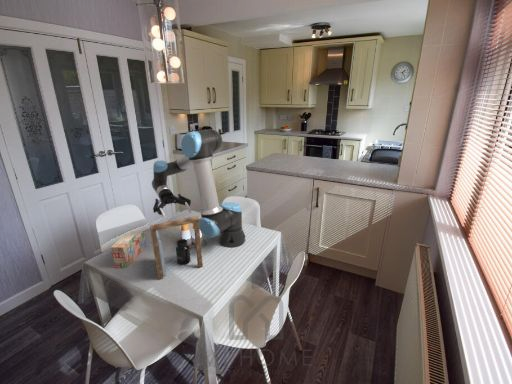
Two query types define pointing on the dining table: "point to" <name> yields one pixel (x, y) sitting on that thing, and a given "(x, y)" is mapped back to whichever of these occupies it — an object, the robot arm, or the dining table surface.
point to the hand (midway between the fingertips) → (177, 213)
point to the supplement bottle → (183, 252)
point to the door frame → (173, 224)
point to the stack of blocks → (128, 249)
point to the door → (161, 254)
